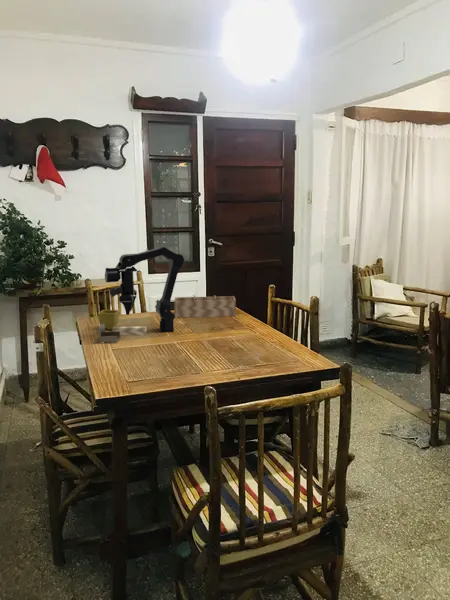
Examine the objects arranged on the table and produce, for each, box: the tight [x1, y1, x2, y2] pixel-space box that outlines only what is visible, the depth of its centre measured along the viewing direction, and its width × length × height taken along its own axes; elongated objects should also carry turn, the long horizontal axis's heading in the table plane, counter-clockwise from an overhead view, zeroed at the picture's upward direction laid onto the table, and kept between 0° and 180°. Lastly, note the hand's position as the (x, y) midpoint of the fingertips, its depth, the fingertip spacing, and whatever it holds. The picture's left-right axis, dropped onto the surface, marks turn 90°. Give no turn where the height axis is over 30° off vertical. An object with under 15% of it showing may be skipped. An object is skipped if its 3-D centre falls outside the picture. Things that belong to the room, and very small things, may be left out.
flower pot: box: [97, 309, 120, 330], centre depth 252 cm, size 9×9×9 cm
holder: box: [173, 294, 237, 318], centre depth 284 cm, size 35×13×10 cm, turn 94°
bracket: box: [97, 324, 121, 344], centre depth 229 cm, size 8×10×7 cm
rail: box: [112, 325, 148, 336], centre depth 240 cm, size 16×4×4 cm, turn 91°
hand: (129, 312), depth 238 cm, fingers open, 9 cm apart
